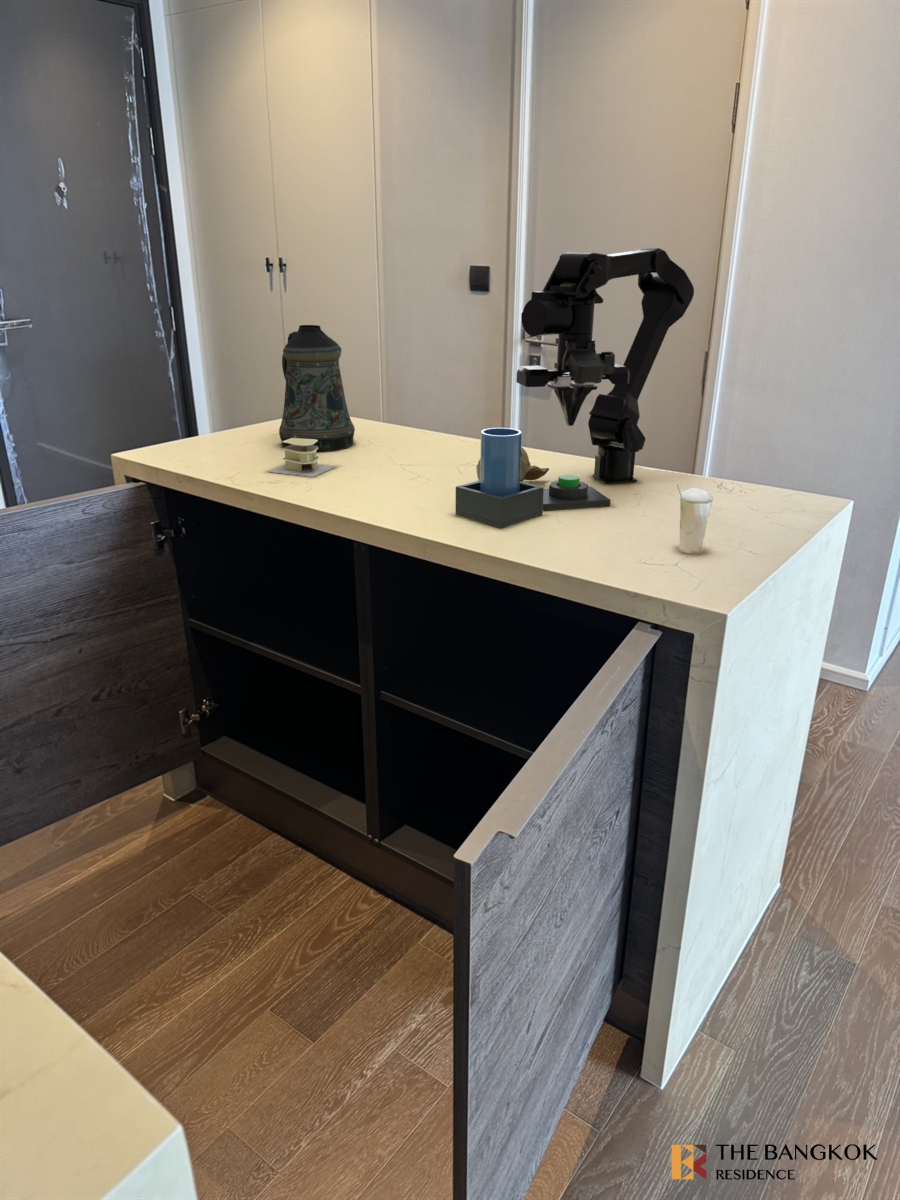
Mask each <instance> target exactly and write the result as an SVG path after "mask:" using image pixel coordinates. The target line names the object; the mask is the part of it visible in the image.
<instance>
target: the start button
mask: <svg viewBox="0 0 900 1200" xmlns="http://www.w3.org/2000/svg"><path fill="white" fill-rule="evenodd" d="M558 480H559V481H558V486H559V487H563V488H577V487H579V483H580V482H581V481H580V480H581V477H580V476H579V475H575V474H561V475H559V476H558Z"/></svg>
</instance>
